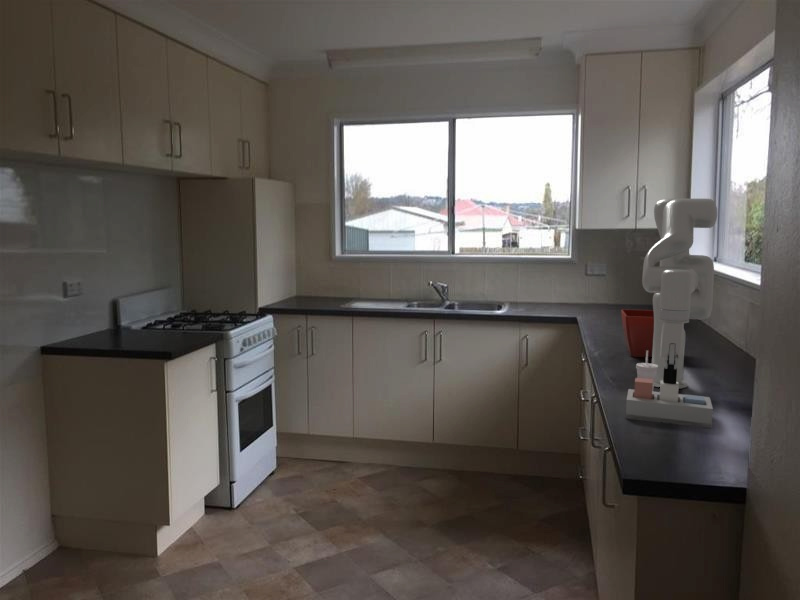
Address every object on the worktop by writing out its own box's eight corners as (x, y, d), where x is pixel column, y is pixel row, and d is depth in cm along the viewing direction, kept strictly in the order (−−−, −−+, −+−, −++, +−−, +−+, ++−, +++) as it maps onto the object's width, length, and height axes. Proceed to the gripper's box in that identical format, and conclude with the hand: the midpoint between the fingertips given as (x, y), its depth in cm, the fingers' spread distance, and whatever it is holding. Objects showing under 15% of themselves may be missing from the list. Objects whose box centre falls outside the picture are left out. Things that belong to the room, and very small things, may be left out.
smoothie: (651, 393, 199) (654, 349, 198) (660, 399, 193) (663, 353, 191) (630, 393, 199) (633, 348, 197) (639, 399, 193) (641, 353, 191)
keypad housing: (627, 406, 185) (628, 388, 184) (708, 415, 177) (709, 397, 176) (625, 418, 174) (626, 399, 173) (711, 428, 166) (712, 408, 165)
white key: (659, 396, 178) (660, 380, 177) (677, 397, 176) (678, 381, 176) (659, 400, 174) (660, 383, 173) (677, 402, 172) (678, 385, 171)
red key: (634, 393, 180) (635, 377, 180) (651, 395, 178) (652, 379, 178) (633, 397, 176) (634, 381, 175) (651, 399, 174) (652, 383, 174)
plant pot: (623, 358, 250) (625, 315, 248) (618, 348, 269) (621, 308, 267) (676, 361, 246) (678, 317, 244) (667, 351, 264) (670, 310, 262)
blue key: (684, 410, 176) (685, 394, 175) (702, 412, 174) (703, 396, 174) (685, 415, 172) (686, 398, 171) (703, 417, 170) (704, 400, 169)
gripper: (658, 311, 180) (654, 375, 182) (658, 318, 166) (654, 387, 169) (688, 313, 177) (683, 378, 180) (690, 320, 164) (685, 391, 166)
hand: (669, 382), depth 174 cm, fingers closed
